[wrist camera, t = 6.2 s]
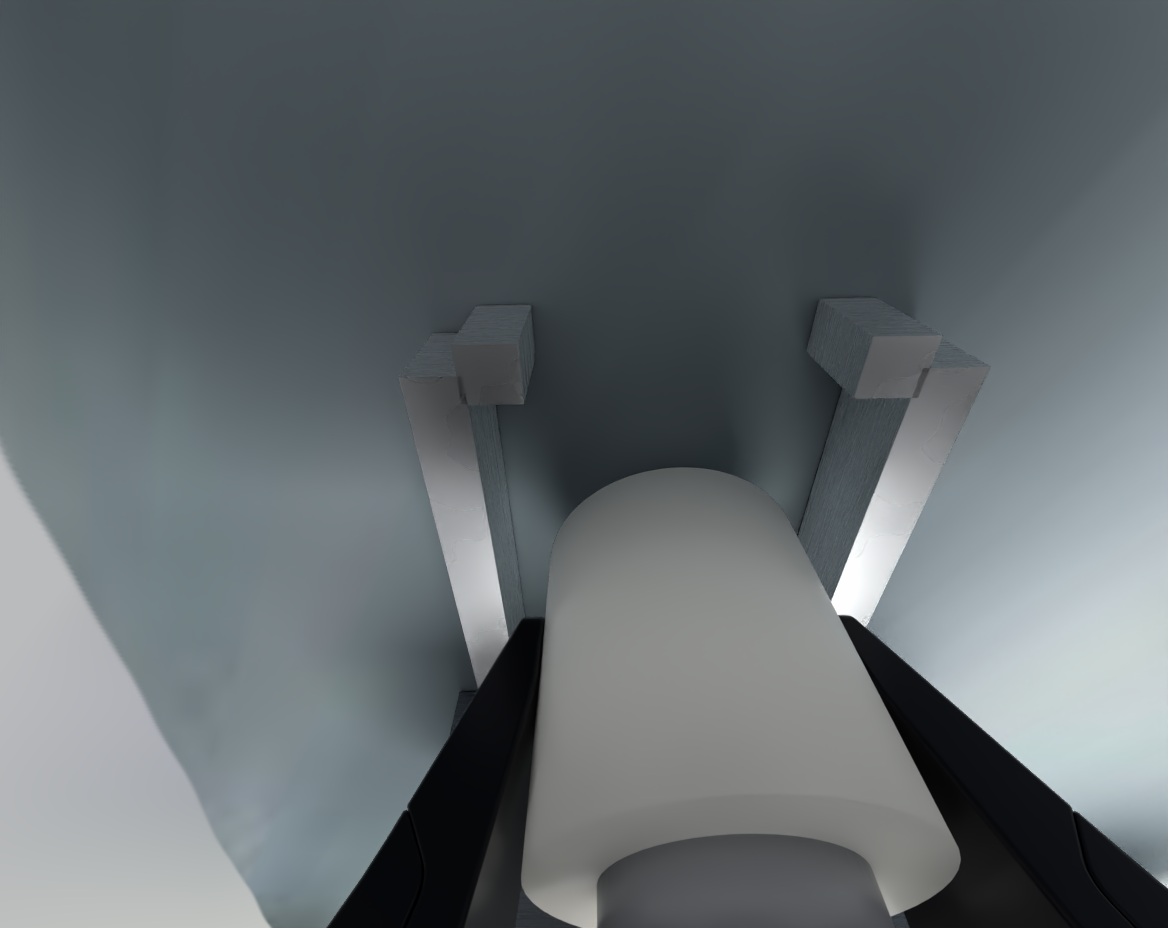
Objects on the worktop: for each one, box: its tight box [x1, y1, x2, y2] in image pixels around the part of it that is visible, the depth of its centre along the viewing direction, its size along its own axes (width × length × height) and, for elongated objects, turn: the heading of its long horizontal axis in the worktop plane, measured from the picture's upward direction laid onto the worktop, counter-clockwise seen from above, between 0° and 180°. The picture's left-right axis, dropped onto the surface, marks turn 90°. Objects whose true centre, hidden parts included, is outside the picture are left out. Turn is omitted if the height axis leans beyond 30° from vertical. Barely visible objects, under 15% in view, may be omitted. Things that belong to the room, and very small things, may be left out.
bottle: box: [521, 467, 961, 928], centre depth 8 cm, size 5×5×6 cm
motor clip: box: [398, 297, 990, 928], centre depth 11 cm, size 14×18×8 cm
